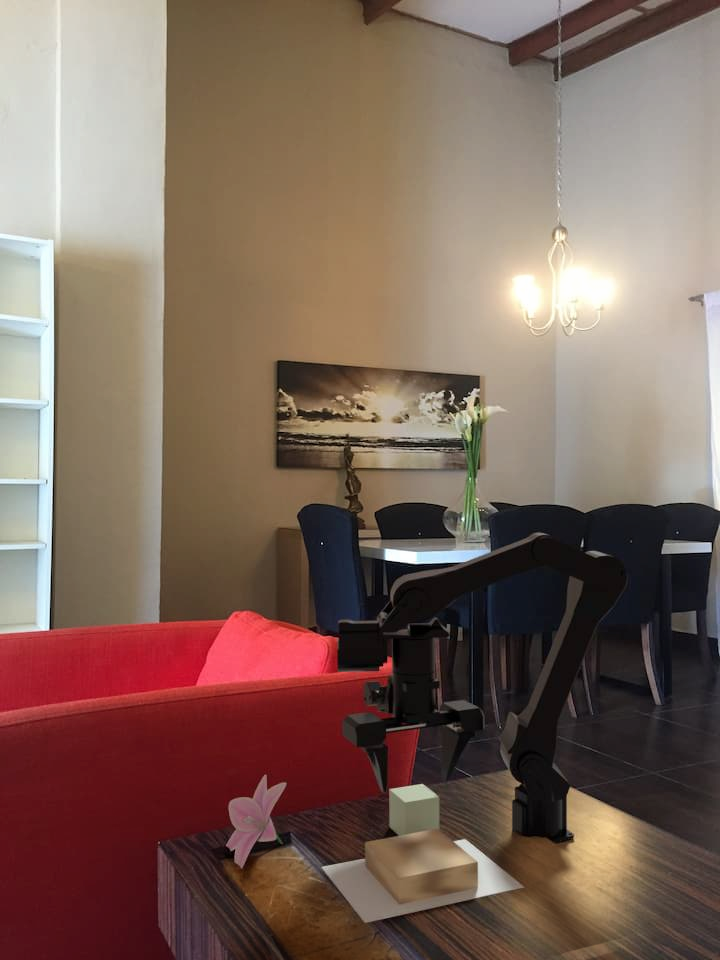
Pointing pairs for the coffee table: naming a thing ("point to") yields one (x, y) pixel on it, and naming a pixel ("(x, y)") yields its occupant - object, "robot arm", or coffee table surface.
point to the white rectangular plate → (380, 904)
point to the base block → (420, 865)
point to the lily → (253, 819)
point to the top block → (413, 809)
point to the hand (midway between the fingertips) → (414, 786)
